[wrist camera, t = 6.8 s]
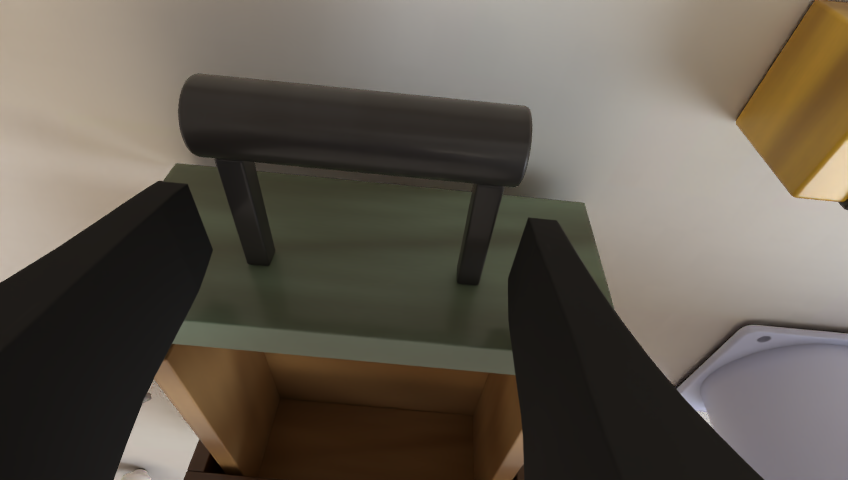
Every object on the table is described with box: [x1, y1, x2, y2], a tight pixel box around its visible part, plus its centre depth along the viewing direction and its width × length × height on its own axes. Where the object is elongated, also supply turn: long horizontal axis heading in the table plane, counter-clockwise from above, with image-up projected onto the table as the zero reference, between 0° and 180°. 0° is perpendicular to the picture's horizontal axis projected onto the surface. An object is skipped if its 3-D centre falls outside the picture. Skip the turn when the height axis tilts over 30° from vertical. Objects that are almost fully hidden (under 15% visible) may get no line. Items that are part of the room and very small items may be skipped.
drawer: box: [154, 74, 614, 480], centre depth 16 cm, size 20×13×6 cm, turn 176°
